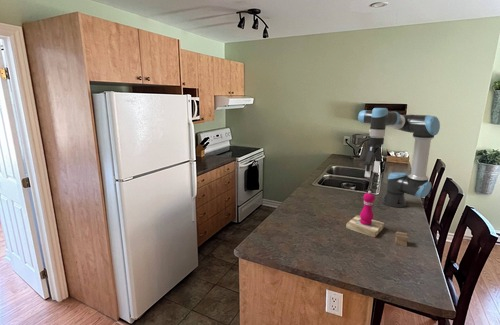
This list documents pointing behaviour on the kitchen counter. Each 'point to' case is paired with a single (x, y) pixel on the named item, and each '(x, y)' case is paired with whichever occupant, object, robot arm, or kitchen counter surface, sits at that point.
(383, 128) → the robot arm
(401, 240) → the block
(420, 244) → the kitchen counter surface
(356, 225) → the base plate
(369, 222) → the pepper mill
